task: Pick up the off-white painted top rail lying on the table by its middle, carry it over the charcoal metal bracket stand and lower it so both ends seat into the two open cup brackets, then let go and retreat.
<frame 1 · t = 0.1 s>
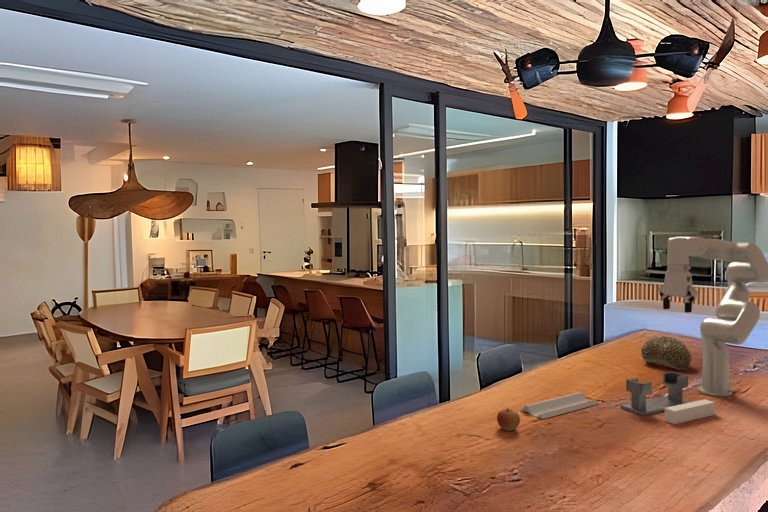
hand: (677, 310, 222), 37 cm above the table, fingers open, 9 cm apart
rail: (689, 418, 204), on the table
bracket stand: (657, 406, 217), on the table
apple: (508, 430, 195), on the table
coral: (666, 366, 279), on the table
crown molding: (559, 409, 217), on the table
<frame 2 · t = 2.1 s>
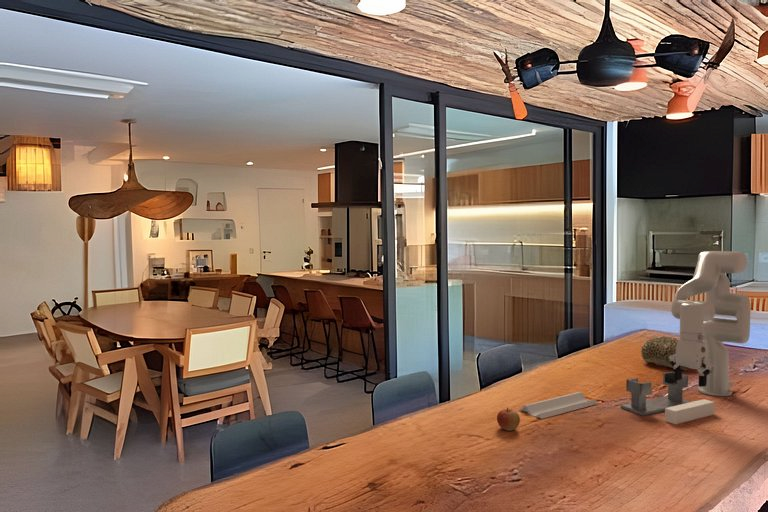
hand: (690, 382, 203), 13 cm above the table, fingers open, 9 cm apart
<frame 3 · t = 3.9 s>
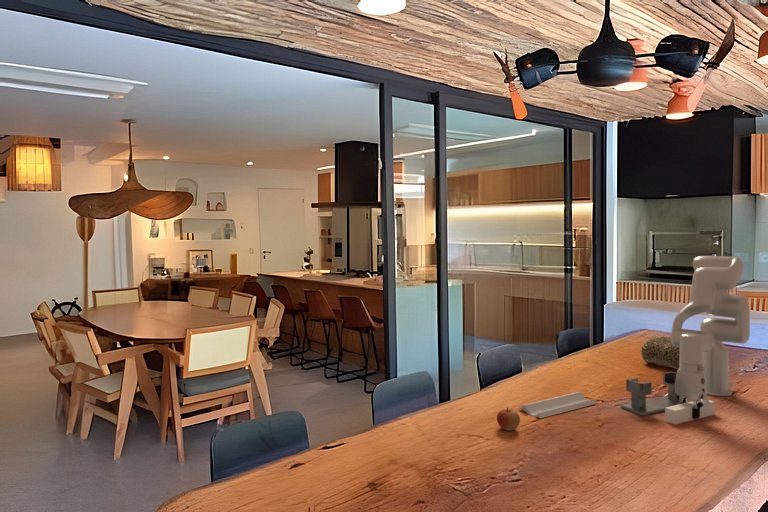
hand: (689, 415, 204), 1 cm above the table, fingers closed on rail, 4 cm apart
rail: (689, 417, 204), on the table, touching gripper
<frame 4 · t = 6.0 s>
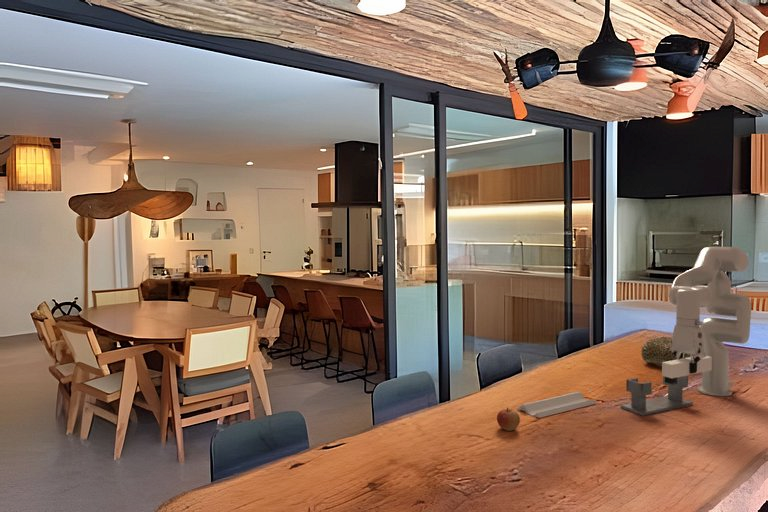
hand: (687, 370, 204), 17 cm above the table, fingers closed on rail, 4 cm apart
rail: (687, 372, 205), point 16 cm above the table, touching gripper
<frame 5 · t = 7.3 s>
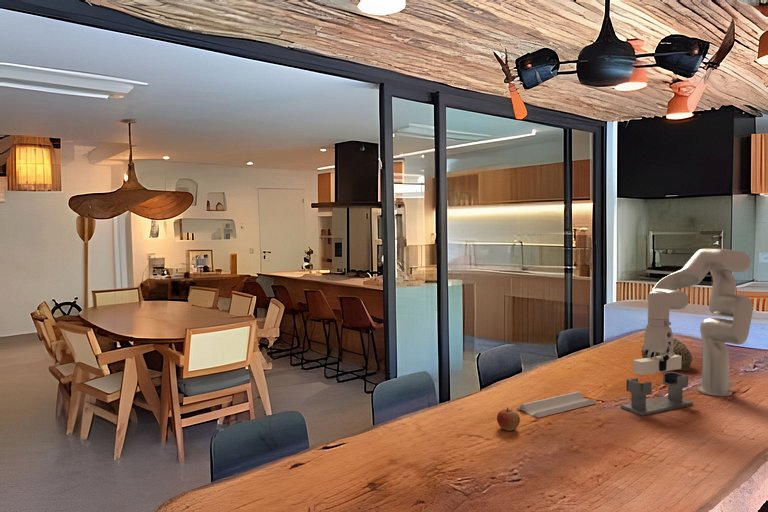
hand: (657, 368, 216), 15 cm above the table, fingers closed on rail, 4 cm apart
rail: (657, 370, 216), point 14 cm above the table, touching gripper
when the fingers open (10 cm above the table, at t = 8.4 s): rail drops 1 cm, resting on bracket stand.
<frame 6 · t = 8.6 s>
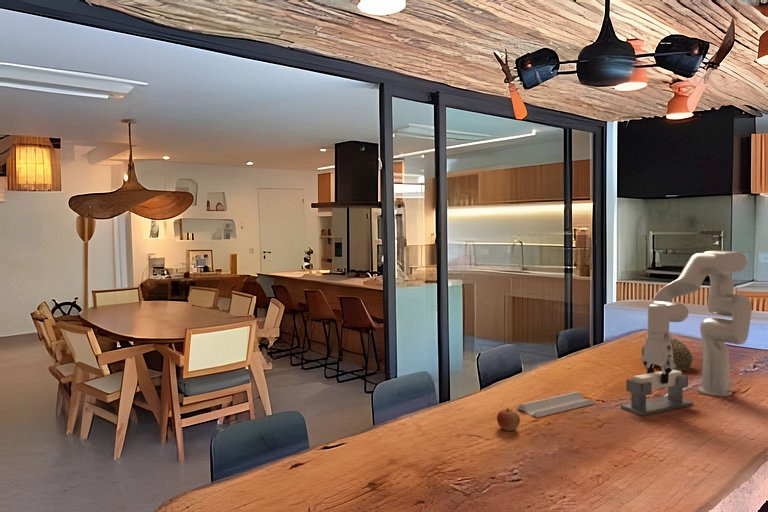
hand: (657, 380, 216), 10 cm above the table, fingers open, 5 cm apart
rail: (657, 386, 216), point 8 cm above the table, touching bracket stand
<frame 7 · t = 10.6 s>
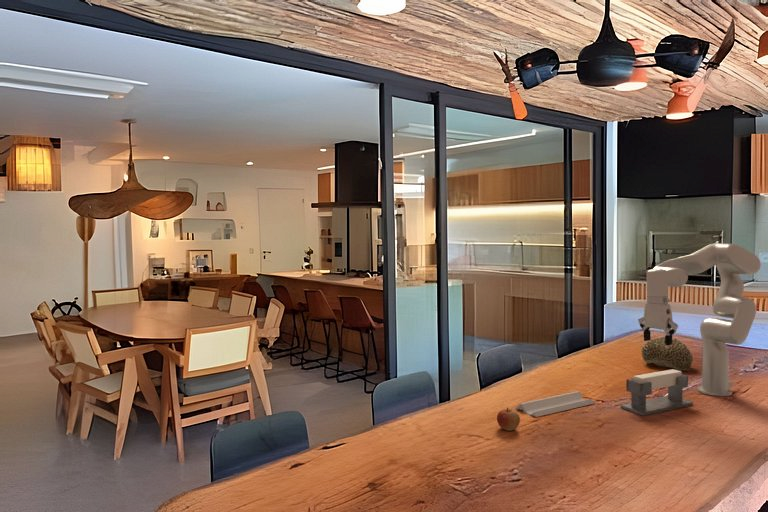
hand: (657, 342, 220), 24 cm above the table, fingers open, 9 cm apart
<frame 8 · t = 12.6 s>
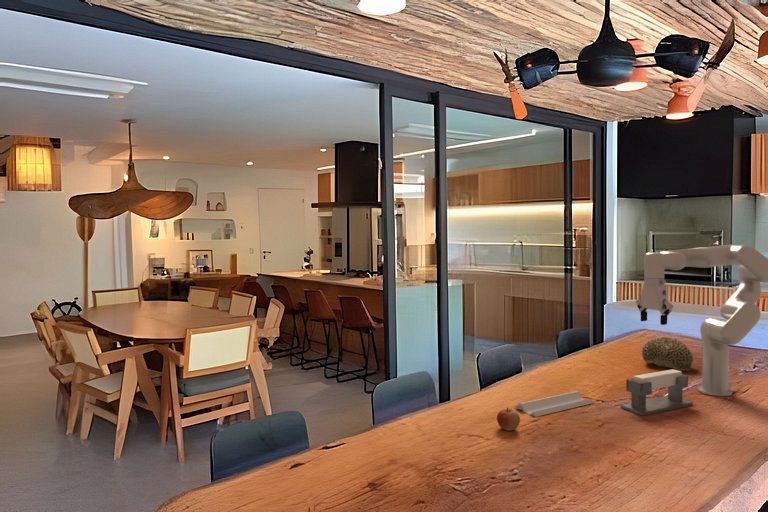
hand: (653, 322, 231), 30 cm above the table, fingers open, 9 cm apart
at the end: rail 0.1 cm off-centre on the bracket stand, point 8.0 cm above the bracket stand's base; rail tilted 0°; the gripper is holding nothing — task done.
